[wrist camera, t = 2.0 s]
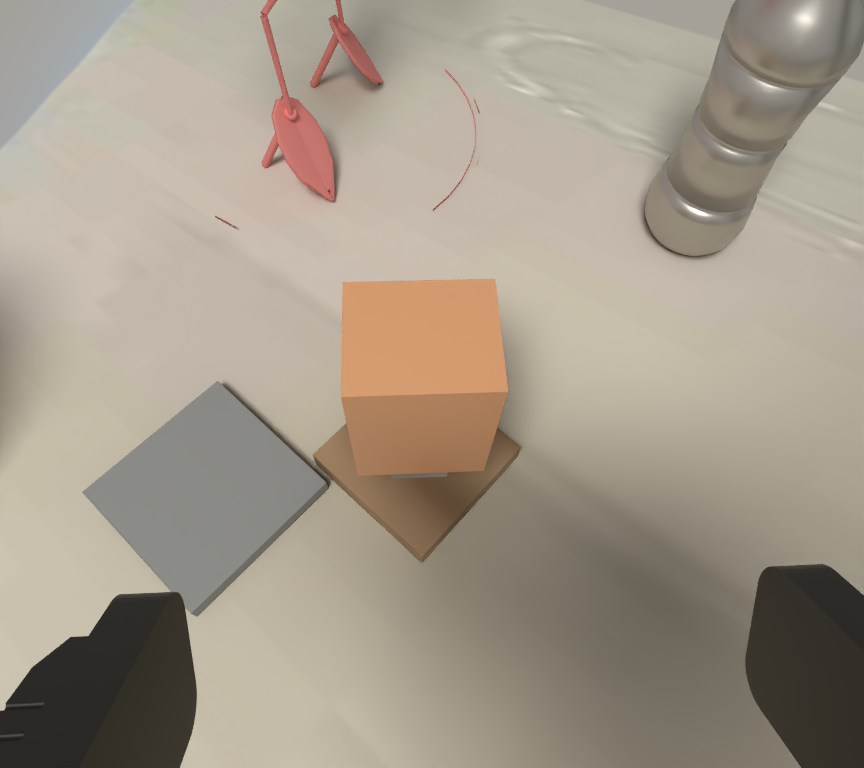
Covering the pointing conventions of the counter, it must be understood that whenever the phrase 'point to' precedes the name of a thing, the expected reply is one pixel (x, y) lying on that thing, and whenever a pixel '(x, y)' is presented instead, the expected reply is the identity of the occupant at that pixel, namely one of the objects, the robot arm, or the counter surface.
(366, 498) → the post stand
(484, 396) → the tall orange box
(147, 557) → the mat
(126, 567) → the counter surface
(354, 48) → the figurine
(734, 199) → the plastic bottle
